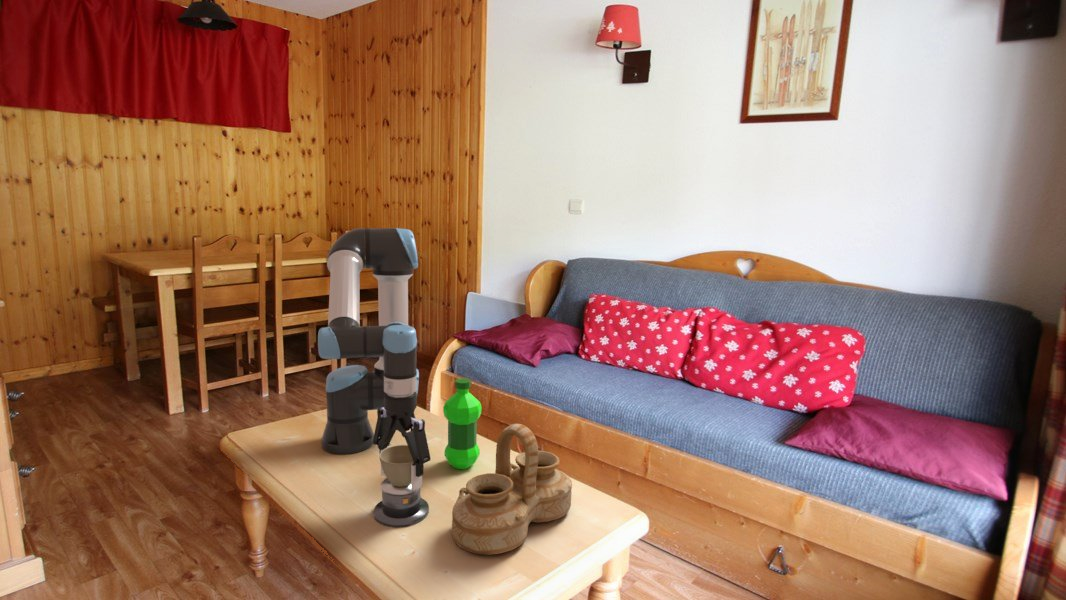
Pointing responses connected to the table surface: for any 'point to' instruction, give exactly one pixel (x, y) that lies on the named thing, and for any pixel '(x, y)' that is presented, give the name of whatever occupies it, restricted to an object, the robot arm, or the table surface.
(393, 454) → the flower pot
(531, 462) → the ceramic vessel
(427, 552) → the table surface
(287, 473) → the table surface
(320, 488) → the table surface
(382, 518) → the grey top hat
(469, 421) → the plastic bottle
